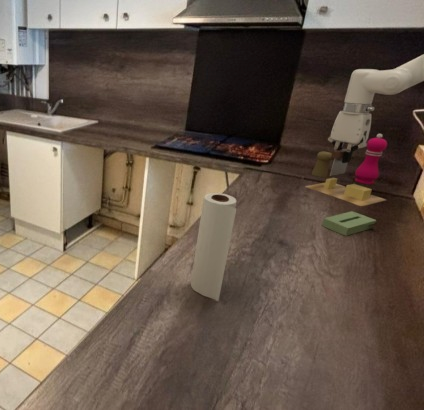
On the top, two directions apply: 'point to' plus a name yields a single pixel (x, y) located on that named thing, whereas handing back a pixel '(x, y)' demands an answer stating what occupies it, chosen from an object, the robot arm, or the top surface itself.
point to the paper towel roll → (213, 244)
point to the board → (339, 193)
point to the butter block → (357, 192)
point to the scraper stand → (348, 223)
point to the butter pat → (330, 183)
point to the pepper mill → (371, 161)
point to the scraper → (338, 162)
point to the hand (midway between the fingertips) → (341, 161)
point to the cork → (322, 164)
